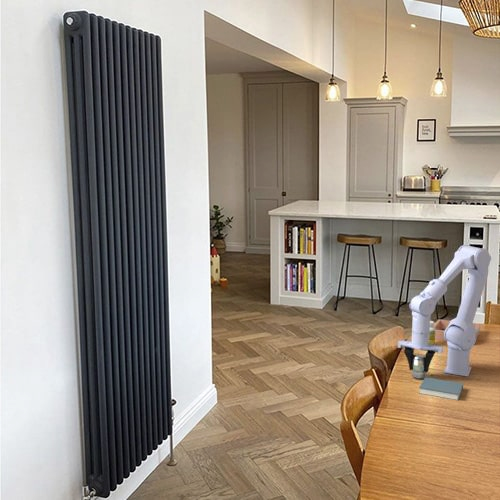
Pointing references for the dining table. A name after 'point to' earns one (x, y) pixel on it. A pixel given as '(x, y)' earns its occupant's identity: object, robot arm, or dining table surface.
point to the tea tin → (418, 366)
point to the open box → (444, 324)
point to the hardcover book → (441, 388)
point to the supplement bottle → (432, 333)
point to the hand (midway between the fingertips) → (418, 370)
